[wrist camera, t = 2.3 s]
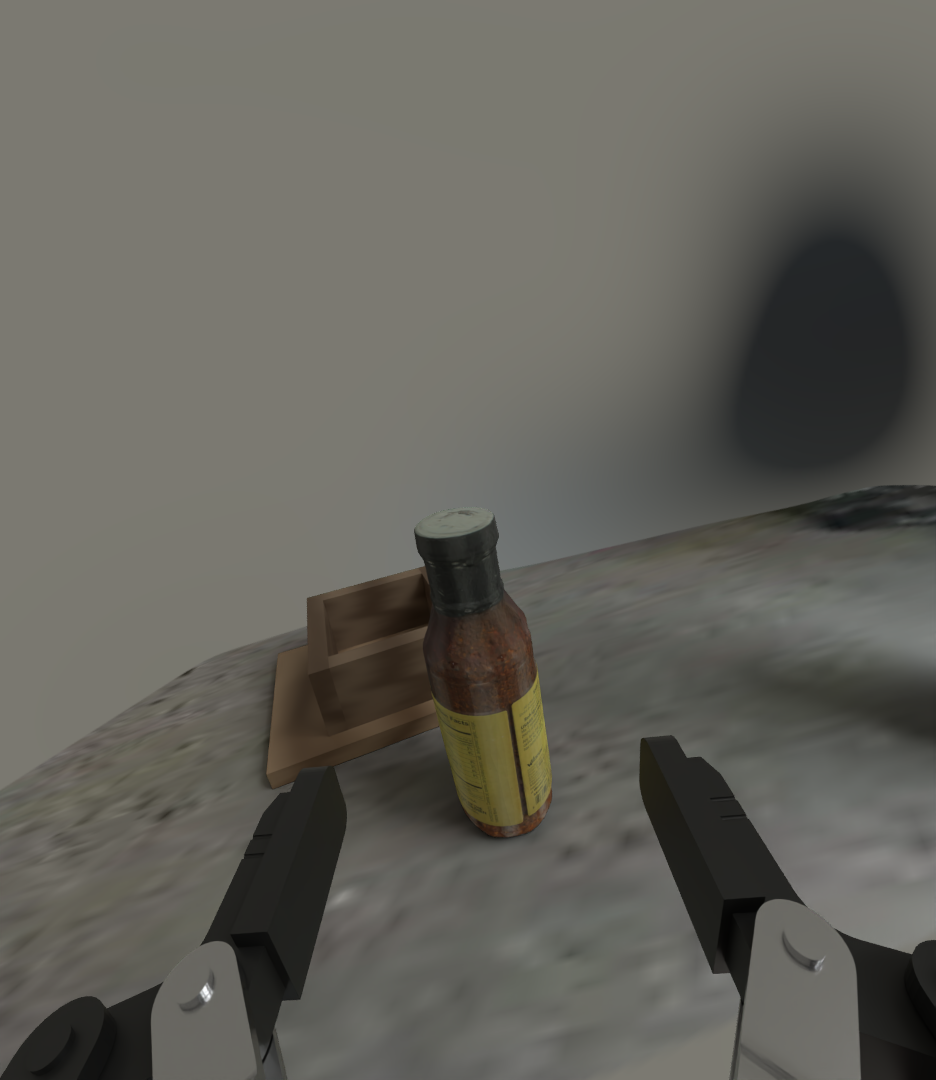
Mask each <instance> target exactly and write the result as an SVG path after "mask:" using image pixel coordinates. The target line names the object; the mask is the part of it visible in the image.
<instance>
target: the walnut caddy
mask: <svg viewBox="0 0 936 1080" xmlns="http://www.w3.org/2000/svg"><path fill="white" fill-rule="evenodd" d="M430 592H431V590H430V585H429V581H428V577H427V572H426V568H425V566H424V567H420V568H417V569H413V570H409V571H405V572H402V573H398V574H394V575H391V576H387V577H383V578H379V579H376V580H372V581H368V582H365V583H361V584H358V585H354V586H350V587H346V588H342V589H339V590H335V591H331V592H328V593H324V594H320V595H317V596H313V597H309V598H307V631H308V645H305V646H302V647H299V648H295V649H292V650H289V651H285V652H282V653H279V654H278V660H277V670H276V680H275V690H274V701H273V711H272V721H271V731H270V742H269V752H268V762H267V772H266V775H267V777H268V780H269V782H270V784H271V787H272V789H275V788H277V787H280V786H283V785H285V784H288V783H290V782H293V781H295V780H296V778H297V775H298V773H299V772H300V770H301V769H303V768H310V767H321V766H332V767H333V766H335V765H338V764H341V763H343V762H346V761H349V760H351V759H354V758H356V757H359V756H362V755H364V754H367V753H370V752H372V751H375V750H378V749H380V748H383V747H385V746H388V745H391V744H393V743H396V742H399V741H401V740H404V739H407V738H409V737H412V736H414V735H417V734H420V733H422V732H425V731H428V730H430V729H433V728H436V727H438V726H439V722H438V718H437V714H436V710H435V705H434V701H433V697H432V692H431V688H430V683H429V677H428V672H427V668H426V663H425V658H424V654H423V641H424V637H425V634H426V631H427V627H428V623H429V619H430V614H431V609H432V601H431V598H430Z"/></svg>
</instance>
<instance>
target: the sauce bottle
mask: <svg viewBox="0 0 936 1080" xmlns="http://www.w3.org/2000/svg"><path fill="white" fill-rule="evenodd" d="M414 533H415V539H416V545H417V549H418V553H419V554H420V556H421V557H422V558H423V560H424V563H425V568H426V572H427V577H428V581H429V585H430V590H431V592H430V598H431V601H432V609H431V614H430V619H429V623H428V627H427V631H426V634H425V637H424V641H423V654H424V658H425V663H426V668H427V672H428V677H429V683H430V688H431V692H432V697H433V701H434V705H435V710H436V714H437V718H438V722H439V726H440V729H441V733H442V737H443V741H444V745H445V748H446V752H447V756H448V759H449V763H450V766H451V770H452V774H453V778H454V782H455V786H456V790H457V794H458V797H459V800H460V802H461V804H462V806H463V809H464V811H465V813H466V814H467V815H468V817H469V818H470V820H471V821H473V823H474V824H475V825H476V826H477V827H478V828H480V829H481V830H482V831H485V833H487V834H488V835H490V836H493V837H506V838H507V837H512V836H518V835H521V834H526V833H527V832H530V831H532V830H533V829H534V828H536V827H537V826H538V825H539V824H540V823H541V821H542V820H543V819H544V817H545V814H546V813H547V810H548V809H549V806H550V803H551V799H552V789H551V782H552V774H551V766H550V758H549V750H548V743H547V736H546V729H545V722H544V715H543V707H542V700H541V692H540V684H539V677H538V669H537V664H536V661H535V659H534V657H533V647H532V641H531V634H530V631H529V629H528V626H527V621H526V617H525V615H524V613H523V611H522V610H521V609H520V608H519V607H518V606H517V605H516V604H515V602H514V601H513V600H512V599H511V597H510V596H509V595H508V594H507V592H506V591H505V590H504V585H503V582H502V579H501V577H500V569H499V565H498V559H497V551H496V544H497V540H498V538H499V533H498V530H497V526H496V521H495V517H494V514H493V513H492V512H491V511H489V510H487V509H484V508H479V507H467V508H466V507H465V508H454V509H448V510H443V511H440V512H437V513H434V514H432V515H430V516H428V517H426V518H424V519H423V520H422V521H420V522H419V523H418V524H417V525H416V527H415V529H414Z"/></svg>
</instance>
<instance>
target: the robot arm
mask: <svg viewBox="0 0 936 1080" xmlns="http://www.w3.org/2000/svg"><path fill="white" fill-rule="evenodd" d="M639 782H640V790H641V795H642V799H643V802H644V805H645V808H646V811H647V813H648V816H649V818H650V821H651V823H652V825H653V828H654V830H655V833H656V835H657V838H658V840H659V843H660V845H661V848H662V850H663V852H664V855H665V857H666V860H667V862H668V865H669V867H670V870H671V872H672V875H673V877H674V879H675V882H676V884H677V887H678V889H679V892H680V894H681V897H682V899H683V902H684V904H685V906H686V909H687V911H688V914H689V916H690V919H691V921H692V924H693V926H694V928H695V931H696V933H697V936H698V938H699V941H700V943H701V946H702V948H703V951H704V953H705V955H706V958H707V960H708V963H709V965H710V968H711V970H712V973H713V974H720V973H730V974H731V976H732V978H733V980H734V983H735V985H736V987H737V990H738V992H739V994H740V996H741V997H740V1003H739V1011H738V1018H737V1026H736V1033H735V1041H734V1048H733V1056H732V1063H731V1071H730V1078H729V1080H936V940H930V941H925V942H922V943H920V944H919V945H918V946H916V948H915V950H914V952H913V954H909V953H905V952H901V951H898V950H894V949H891V948H887V947H884V946H880V945H876V944H873V943H869V942H866V941H862V940H859V939H856V938H853V937H850V936H848V935H846V934H844V933H842V932H840V931H838V930H836V929H835V928H833V927H832V926H831V925H830V924H829V923H828V922H827V921H826V920H825V919H823V918H822V917H821V916H820V915H818V914H817V913H816V912H814V911H813V910H811V909H809V908H808V907H807V906H806V905H805V904H804V903H803V902H802V901H801V899H800V898H799V897H798V895H797V894H796V893H795V891H794V890H793V888H792V887H791V885H790V883H789V882H788V880H787V879H786V877H785V876H784V874H783V872H782V871H781V869H780V868H779V866H778V864H777V863H776V861H775V860H774V858H773V856H772V855H771V853H770V852H769V850H768V849H767V847H766V845H765V844H764V842H763V841H762V839H761V837H760V836H759V834H758V833H757V831H756V829H755V828H754V826H753V825H752V823H751V822H750V820H749V819H747V817H746V814H745V812H744V810H743V809H742V807H741V806H740V804H739V802H738V801H737V800H735V797H734V795H733V793H732V791H731V790H730V788H729V787H728V785H727V783H726V782H725V780H724V779H723V777H722V775H721V774H720V773H719V772H718V771H716V770H715V769H714V768H713V767H712V766H711V765H710V764H708V763H707V762H706V761H705V760H704V759H703V758H702V757H691V758H687V757H686V756H685V754H684V752H683V750H682V749H681V747H680V745H679V743H678V742H677V740H676V739H675V737H673V736H672V735H670V736H659V737H648V738H642V739H641V744H640V777H639ZM346 822H347V811H346V805H345V801H344V798H343V795H342V792H341V789H340V786H339V782H338V779H337V776H336V773H335V770H334V768H333V767H332V766H321V767H310V768H303V769H301V770H300V772H299V773H298V775H297V778H296V780H295V782H294V785H293V787H292V789H291V792H287V793H280V794H279V795H278V796H277V798H276V799H275V800H274V801H273V802H272V803H271V805H270V806H269V807H268V808H267V809H266V811H265V812H264V813H263V815H262V817H261V819H260V821H259V824H258V826H257V828H256V830H255V832H254V834H253V839H252V840H251V841H250V843H249V845H248V847H247V849H246V852H245V854H244V859H242V860H241V862H240V865H239V867H238V869H237V871H236V873H235V875H234V877H233V880H232V882H231V884H230V886H229V888H228V890H227V892H226V895H225V897H224V899H223V901H222V903H221V905H220V908H219V910H218V912H217V914H216V916H215V918H214V920H213V923H212V925H211V927H210V929H209V931H208V933H207V935H206V937H205V939H204V941H203V942H202V944H201V945H200V946H199V947H197V948H196V949H194V950H193V951H191V952H190V953H189V954H188V955H186V956H185V957H184V958H183V959H182V960H181V961H180V962H179V963H178V964H177V965H176V966H175V967H174V968H173V970H172V971H171V972H170V973H169V975H168V976H167V978H166V979H165V981H164V982H162V983H161V984H159V985H157V986H155V987H153V988H151V989H149V990H146V991H144V992H142V993H140V994H138V995H135V996H133V997H131V998H129V999H127V1000H125V1001H122V1002H120V1003H118V1004H116V1005H114V1006H111V1007H109V1008H107V1009H106V1007H105V1006H104V1005H103V1004H102V1002H101V1001H100V1000H99V999H97V998H95V997H92V996H87V997H81V998H78V999H75V1000H73V1001H71V1002H69V1003H67V1004H65V1005H64V1006H62V1007H60V1008H59V1009H58V1010H56V1011H55V1012H53V1013H52V1014H51V1015H50V1016H49V1017H47V1018H46V1019H45V1020H44V1021H43V1022H42V1023H41V1024H40V1025H39V1026H38V1027H37V1028H36V1029H35V1030H34V1031H33V1032H32V1033H31V1034H30V1035H29V1037H28V1038H27V1039H26V1040H25V1042H24V1043H23V1044H22V1045H21V1047H20V1048H19V1050H18V1051H17V1052H16V1054H15V1055H14V1057H13V1058H12V1060H11V1062H10V1063H9V1065H8V1066H7V1068H6V1070H5V1071H4V1073H3V1074H2V1076H1V1078H0V1080H288V1079H287V1075H286V1070H285V1066H284V1062H283V1058H282V1053H281V1049H280V1045H279V1041H278V1036H277V1032H276V1029H275V1023H276V1019H277V1016H278V1013H279V1009H280V1006H281V1002H282V1001H285V1000H300V999H301V995H302V991H303V987H304V984H305V980H306V976H307V972H308V969H309V965H310V961H311V958H312V954H313V950H314V946H315V943H316V939H317V935H318V931H319V928H320V924H321V920H322V916H323V913H324V909H325V905H326V902H327V898H328V894H329V890H330V887H331V883H332V879H333V875H334V872H335V868H336V864H337V860H338V857H339V853H340V849H341V846H342V842H343V838H344V834H345V830H346Z"/></svg>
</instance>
